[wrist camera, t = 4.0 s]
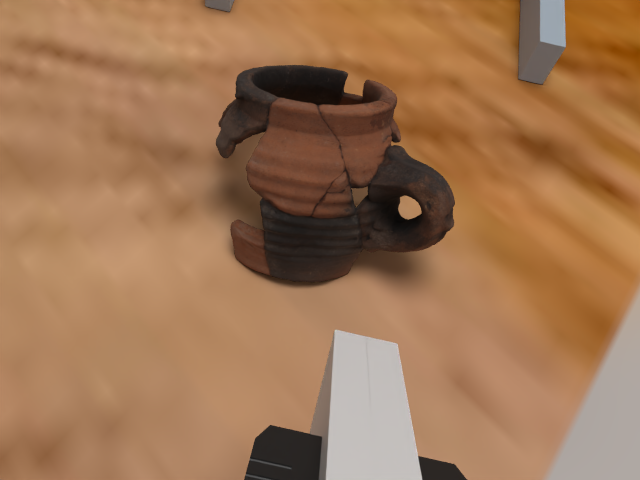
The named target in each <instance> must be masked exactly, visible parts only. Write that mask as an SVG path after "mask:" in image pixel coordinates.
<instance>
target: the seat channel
mask: <svg viewBox="0 0 640 480" xmlns="http://www.w3.org/2000/svg"><path fill="white" fill-rule="evenodd" d="M233 2H234V0H205V6H206V7H211V8H215V9H219V10H223V11H228V12H230V10H231V7H232V5H233ZM565 48H566V41H565V6H564V0H520V36H519V74H518V79H521V80H525V81H529V82H533V83H538V84H543V82H544V81H545V79H546V78H547V76H548V75H549V73H550V71H551V70H552V68H553V67H554V65H555V63H556V62H557V60H558V59H559V57H560V55H561V54H562V52H563V51H564V49H565Z"/></svg>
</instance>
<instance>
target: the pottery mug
mask: <svg viewBox="0 0 640 480" xmlns="http://www.w3.org/2000/svg"><path fill="white" fill-rule="evenodd" d="M347 76H348V73H347V72H344V71H340V70H336V69H330V68H324V67H314V66H304V65H285V66H264V67H258V68H253V69H249V70H246V71H243V72H242V73H240V74H239V75H238V77H237V80H236V94H235V97H236V99H235V100H234V101H233V102H232V103H230V104H229V105H228V106H227V108H226V110H225V111H224V112H223V115H222V118H221V119H220V121H219V126H220V127H221V131H220V133H219V135H218V137H217V139H216V146H217V148H218V150H219V153H220V155H221V156H222V157H223V158H228V157H229V156H230V155H231V154H232V153H233V151H234V149H235V147H236V145H237V144H239V143H241V142H242V141H243V140H245V139H246V138H248V137H251V136H252V135H255V134H259V133H262V132H265V131H266V132H265V134H264V135H263V136H262V137H261V139H260V140H259V144H258V146H257V147H256V148H255V150H254V152H253V154H252V156H251V158H250V160H249V161H248V164H247V166H246V171H247V178H248V182H249V185H250V187H251V188H252V189H253V190H254V191H255V192H256V193H257V194H259V195H260V196H261V197H262V199H261V201H260V206H261V214H262V218H263V227H264V230H265V231H264V230H261V229H256V228H255V227H252V226H250V225H248V224H246V223H244V222H242V221H241V220H236V221H234V222H233V223H232V224H231V236H232V239H233V246H234V249H235V256H236V258H237V260H239V261H240V262H242V263H243V264H244V265H245V266H247V267H250V268H252V269H253V270H255V271H258V272H261V273H264V274H267V275H271V276H273V277H276V278H282V279H288V280H291V281H294V282H298V281H305V282H322V281H326V280H329V279H334V278H338V277H340V276H343V275H345V274H347V273H348V272H349V271H350V268H351V266H352V264H353V262H354V261H355V260H356V259H357V257H358V255H359V253H360V252H361V251H362V250H363V249H365V250H367V251H368V252H375V251H377V250H386V251H391V252H410V251H419V250H423V249H426V248H428V247H430V246H432V245H435V244H436V243H437V242H439V241H440V240H442V239H443V237H444V236H445V234H446V232H448V231H449V230H450V229H451V228H452V227H453V225H454V219H453V206H454V205H455V200H454V196H453V193H452V190H451V188H450V186H449V185H448V183H447V181H446V180H445V179H444V178H443V176H442V175H441V174H439V173H438V172H437V171H436V170H434V169H433V168H431V167H429V166H428V165H426V164H423V163H421V162H419V161H417V160H415V159H413V158H411V157H410V156H409V155H408V154H407V153H406V151H405V149H404V148H402V147H401V146H397V145H394V146H391V141H393V142H400V140H401V136H400V131H399V129H398V126H397V124H396V123H395V121H394V120H393V114H394V109H395V107H396V104H397V97H396V95H395V93H393V92H392V90H390V89H389V88H387V87H386V86H384V85H382V84H381V83H378V82H375V81H370V80H366V81H365V83H364V89H363V97H362V96H359V95H355V94H349V93H345V92H344V85H345V81H346V79H347ZM366 186H368V195H367V196H366V197H365V198H364V199H363V200H362V202H361V203H360V204H359V205H358V206H357V208H356V207H355V205H354V201H353V196H352V190H351V188H364V187H366ZM404 195H406V196H409V197H411V198H413V199H415V200H416V201H417V202H418V203H419V205H420V207H421V211H422V214H421V215H419V216H417V217H415V218H413V219H409V220H407V219H404V218H403V217H401V215H400V214H399V211H398V207H399V204H400V197H402V196H404Z"/></svg>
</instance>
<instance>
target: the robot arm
mask: <svg viewBox="0 0 640 480" xmlns="http://www.w3.org/2000/svg"><path fill="white" fill-rule="evenodd" d="M244 480H467V479H466V478H465V477H464V475H463V474H462V473H461V472H460V470H459V469H458V468H457V467H456V465H455V464H451V463H447V462H442V461H438V460H433V459H429V458H424V457H420V456H418V454H417V448H416V443H415V437H414V432H413V426H412V421H411V416H410V410H409V405H408V399H407V394H406V388H405V383H404V377H403V372H402V367H401V361H400V356H399V350H398V345H397V343H392V342H388V341H384V340H379V339H375V338H370V337H366V336H361V335H357V334H353V333H348V332H344V331H339V330H335V331H334V335H333V339H332V343H331V347H330V351H329V355H328V360H327V364H326V368H325V372H324V376H323V380H322V384H321V388H320V392H319V396H318V400H317V404H316V408H315V413H314V417H313V421H312V425H311V429H310V434H308V433H303V432H299V431H294V430H290V429H285V428H281V427H276V426H272V425H270V426H269V427H268V428H267V429H265V430H264V431H263V432H262V433H261V434H260V435H259V436H257V437H256V438H255V441H254V445H253V449H252V453H251V456H250V461H249V464H248V468H247V471H246V476H245V479H244Z"/></svg>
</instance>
